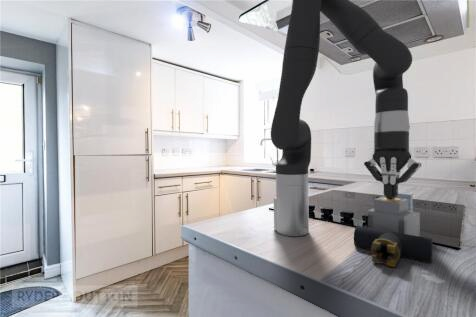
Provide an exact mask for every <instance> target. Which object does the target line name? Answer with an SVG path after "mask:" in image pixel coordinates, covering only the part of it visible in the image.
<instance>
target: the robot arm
mask: <svg viewBox="0 0 476 317" xmlns="http://www.w3.org/2000/svg"><path fill="white" fill-rule="evenodd" d="M290 10H291V12H290V17H289V22H288V27H287V31H286V32H287V33H286V40H285V44H284V51H283V59H282V65H281V66H282V67H281V76H280V81H279V82H280V83H279V88H278V95H277V100H276V105H275V109H274V113H273V114H274V115H273V118H272V122H271V127H270V139H271V142H272V144H273V146H274V147H275V148H276V149H278V150H281V151H282V155H281V158H280V160H279V161H278V162H277V163H276V166H275V187H276V188H275V192H276V193H275V194H276V197H274V198H273V228H274V231H277V233H278V234H281V235H282V236H283V235H284V236H289V237H302V236H306V235H308V234H309V231H310V230H309V227H310V226H309V225H310V224H309V219H310V218H309V215H310V214H309V213H310V212H309V168H310V167H309V166H310V164H311V160H312V159H311V156H312V130H311V128H310V126H309V124H308V123H307V121H305V120H303V119H301V110H302V103H303V99H304V97H305V94H306V92H307V90H308V88H309V87H310V84H311V82H312V80H313V78H314V76H315V74H316V69H317V66H318V65H317V64H318V60H319V59H318V58H319V53H320V52H319V51H320V43H321V42H320V40H321V14H322V15H324V16H325V17H326V18H327V19H328V20H329V22H331V23H332V24H333V25H334V26H335V28H337V30H338V31H339V32H340V33H341V34H342V36H343V37H344V38H345V39H346V40H347V41H348V42H349V43H350V45H351V46H352V47H353V48H354V49H355V50H356V52H358V54H361V55H362V56H365V55H367V57H370V59H372V60H373V61H374V65H373V69H372V70H373V71H372V80H373V88H374V92H375V116H374V124H373V127H374V128H373V131H374V134H373V138H374V140H373V143H374V144H373V145H374V146H373V149H374V151H373V154H372V158H371V159H369V160H368V161H364V163H363V164H364V166H365V168H366V169H367V171H369V173H370V174H371V175H372V176H373V178H374V179H375V180H376V181H377V182H381V183H382V185H383V196H384V197H386V199H395V197H397V196H398V193H399V184H402V183H406V182H407V181H409V179H410V178H411V177H412V176H413V175H414V174H415V173H416V172H417V171H418V170H419V169H420V168H421V167H422V163H421V162H417V161H416V160H414V159H413V158H412V154H411V152H410V130H411V128H410V127H411V126H410V116H409V92H408V90H407V89H406V88H404V81H403V75H404V73H406V72H407V71H408V70H409V69H410V67H412V66H411V65H412V63H413V55H412V52H411V50H410V48H408V46H407V45H406V44H405V43H404V42H402V41H401V40H399V39H398V38H396V37H395V36H393V35H392V34H390V33H388V32H387V31H385V30H384V29H383V27H382V26H380V24H379V23H378V22H377V21H376V20H375V19H374V17H372V15H371V14H369V12H367V11H366V10H365V9H364V8H362V7H360V6H359V5H357V4H355V3H353V2H352V1H350V0H292V2H291V9H290ZM406 165H407V166H406ZM377 166H378V167H379V169H380V170H379V169H378V167H377ZM405 166H406V167H407V169H406V170H405V171H404V172H403V173H402V175H401V172H402V169H404V167H405Z"/></svg>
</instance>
